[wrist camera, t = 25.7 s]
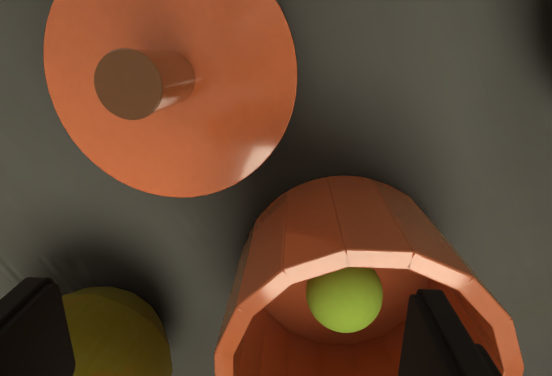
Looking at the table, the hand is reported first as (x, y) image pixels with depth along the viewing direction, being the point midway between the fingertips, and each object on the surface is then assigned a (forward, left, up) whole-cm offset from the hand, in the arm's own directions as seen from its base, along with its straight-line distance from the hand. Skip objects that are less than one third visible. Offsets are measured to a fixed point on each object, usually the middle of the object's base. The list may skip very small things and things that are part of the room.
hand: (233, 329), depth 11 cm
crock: (+6, +5, -14) cm, 16 cm away
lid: (-6, -5, -13) cm, 15 cm away
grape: (+6, +5, -11) cm, 14 cm away
